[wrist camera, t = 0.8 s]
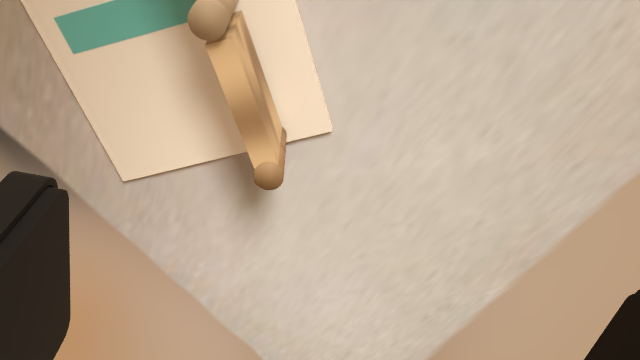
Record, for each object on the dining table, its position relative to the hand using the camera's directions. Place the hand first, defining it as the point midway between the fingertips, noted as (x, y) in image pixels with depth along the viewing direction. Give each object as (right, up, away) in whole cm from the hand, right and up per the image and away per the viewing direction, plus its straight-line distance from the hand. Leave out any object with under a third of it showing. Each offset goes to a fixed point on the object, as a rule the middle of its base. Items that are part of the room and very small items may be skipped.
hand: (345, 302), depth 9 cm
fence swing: (-5, +8, +26) cm, 28 cm away
